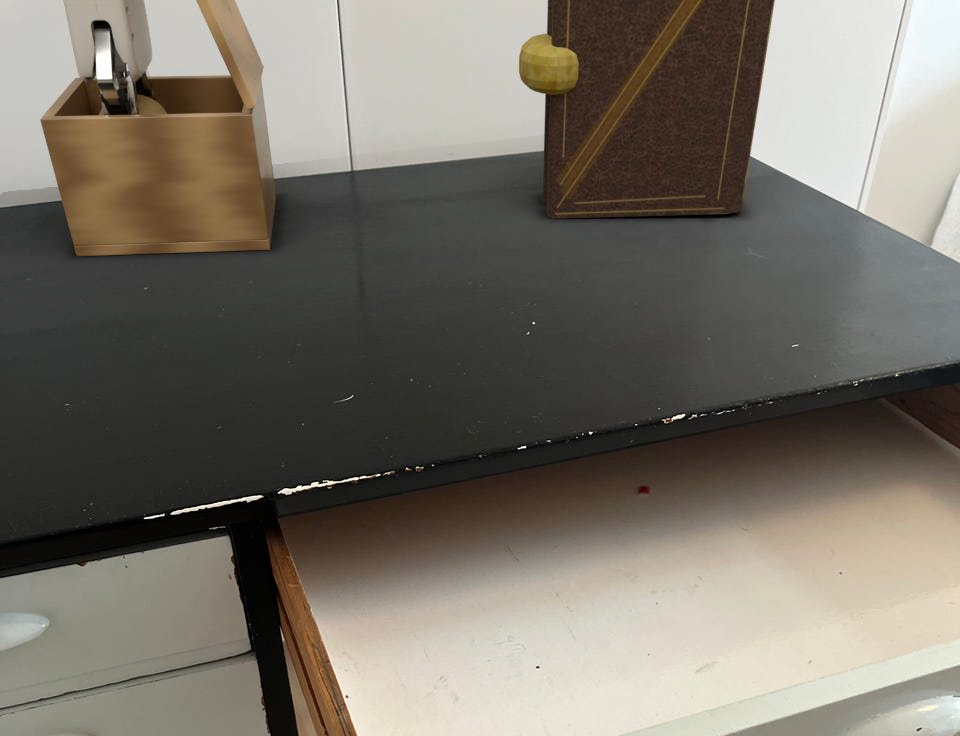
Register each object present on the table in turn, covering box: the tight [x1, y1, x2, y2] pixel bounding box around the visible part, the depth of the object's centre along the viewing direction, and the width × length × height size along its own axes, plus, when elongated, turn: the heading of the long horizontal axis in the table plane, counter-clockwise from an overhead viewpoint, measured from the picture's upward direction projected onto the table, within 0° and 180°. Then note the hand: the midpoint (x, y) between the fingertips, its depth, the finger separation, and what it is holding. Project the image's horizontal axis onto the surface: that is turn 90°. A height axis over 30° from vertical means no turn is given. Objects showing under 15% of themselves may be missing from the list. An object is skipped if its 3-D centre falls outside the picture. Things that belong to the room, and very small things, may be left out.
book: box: [518, 0, 776, 220], centre depth 87 cm, size 22×8×25 cm, turn 92°
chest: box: [40, 74, 277, 257], centre depth 87 cm, size 17×15×11 cm
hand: (140, 156), depth 86 cm, fingers closed on light bulb, 6 cm apart
